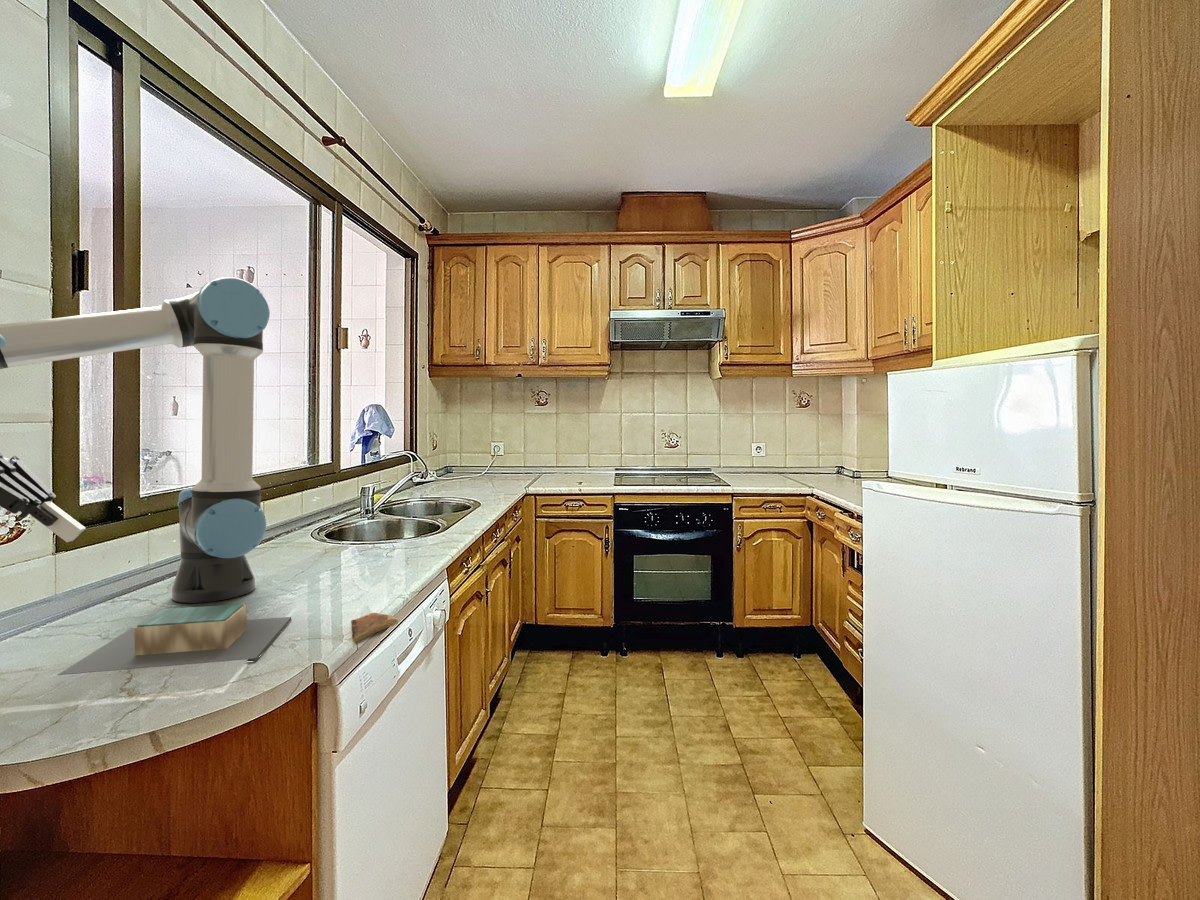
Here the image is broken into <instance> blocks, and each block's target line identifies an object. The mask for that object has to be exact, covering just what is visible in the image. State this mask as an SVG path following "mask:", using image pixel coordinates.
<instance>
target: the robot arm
mask: <svg viewBox="0 0 1200 900" xmlns="http://www.w3.org/2000/svg"><path fill="white" fill-rule="evenodd" d="M270 312H271V310H270V306H269V303H268V300H267V299H266V297H265V295H264V293H262V291H260V289H259V288H257V287H256V286H255V284H252V283H251V282H249V281H247V280H244V279H241V278H238V277H230V276H229V277H228V276H227V277H226V276H225V277H220V278H214V279H211V280H210V281H208V282H206V283H205V284H204V285H202V287H200V289H199V290H198V291H197V292H194V293H193V294H189V295H186V296H184V297H179V298H173V299H164V300H163V301H162V303H160V305H158V306H150V307H141V308H133V309H126V310H116V311H108V312H100V313H99V312H98V313H89V314H81V315H72V316H64V317H54V318H45V319H38V320H36V319H35V320H29V321H20V322H19V321H18V322H11V323H4V324H3V323H2V324H0V370H3V369H7V368H15V367H22V366H28V365H35V364H42V363H49V362H50V363H51V362H57V361H63V360H68V359H69V360H70V359H76V358H85V357H92V356H98V355H105V354H110V353H112V354H113V353H117V352H125V351H132V350H138V349H144V348H151V347H157V346H159V347H160V346H164V345H174V346H176V347H177V348H179V349H180V348H185V347H186V348H187V347H194V348H195V349H196V351H198V353H200V355H201V356H202V410H201V411H202V415H201V417H202V419H201V420H202V422H201V423H202V424H201V425H202V426H201V429H202V430H201V479H200V480H199V482H197V483H196V484H195V485H194V486H193V487H191V488H186V489H183V490H181V491H180V492H179V494H178V500H177V501H178V502H177V507H178V517H179V521H178V522H179V544H180V545H179V548H180V551H179V552H180V562H179V565H178V569H177V571H176V575H175V578H174V581H173V582H172V588H171V598H172V600H173V601H174V602H177V603H183V604H185V603H186V604H197V603H199V604H200V603H208V602H209V603H210V602H211V603H212V602H218V601H224V600H228V599H233V598H237V597H238V598H239V597H240V596H243V595H246V594H249V593H251V592H253V591H254V590H255V589H256V578H255V575H254V573H253V571H252V568H251V567H250V564H249V561H248V559H247V556H246V555H247V554H249V553H250V552H252V551H253V550H255V549H256V548H257V547H258V546H259V544H261V542H262V540H263V539H264V537H265V534H266V531H267V520H266V515H265V514H264V511H263V510H262V508H261V505H262V504H261V503H262V497H261V495H262V494H261V492H262V491H261V489H262V486H261V485H260V484H258V483H257V482H256V481H255V480H254V479H253V461H254V460H253V457H254V455H253V453H254V452H253V451H254V450H253V449H254V399H255V398H254V394H255V393H254V391H255V390H254V389H255V388H254V387H255V385H254V384H255V361H256V359H257V358H258V357H259V356H260V355H262V354H263V353H264V330H266V328H267V325H268V324H269V320H270V314H271V313H270ZM56 497H57V495H56V494H55V492H53V491H52V490H51V489H50V488H49V487H48V486H47V485H46V484H45V483H44V482H43V481H42V480H41V479H40V478H39V477H38V476H37V475H36V474H34V473H33V472H32V471H31V470H30V469H29V468H28V466H26V465H25V463H24V461H23V460H22V458H21V457H20V456H17V455H12V457H11V458H8V457H4V456H3V455H2V454H1V453H0V507H1V508H2V509H4V510H6V511H8V512H10V513H12V514H14V515H16V514H18V513H19V512H20V514H19V515H18V517H19V518H21V519H25V518H27V517H28V516H29V515H30V516H31V517H32V518H33V519H35V520H36V521H38V522H39V523H40V524H41V525H43V526H44V527H45V528H47V529H48V530H50V531H51V532H52V533H54V535H57V536H58V537H59V538H60V539H62V540H63V541H64V542H66V543H70V542H73V541H75V540H76V538H78V537H79V536H80V535H81V533H83V532H84V531H85V530H86V529H87V528H86V526H84V524H81V523H80V522H79V521H78V520H76V519H75V518H73V517H72V516H71V515H69V514H68V513H67V512H65V511H64V510H63V509H61V507H59V506H58V505H56V504H55V503H54V502H52V501H53V500H54V499H55V498H56Z"/></svg>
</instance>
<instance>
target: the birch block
mask: <svg viewBox="0 0 1200 900" xmlns="http://www.w3.org/2000/svg"><path fill="white" fill-rule="evenodd" d="M247 620H248V619H247V604H244V603H239V604H238V603H237V604H236V603H235V604H221V605H208V606H207V605H205V606H192V607H177V608H175V607H174V608H163V609H161V610H159V611H157V612H156V613H154V614H153V615H151V616H150V617H148V618H146V619H145V620H143V621H142V622H141V623H139V624H137V625H136V626H135V627H133V628H134V643H135V656H136V655H149V654H161V653H174V652H187V651H199V650H212V649H225V648H228V647H229V646H230V645H231V644H232V643H233V642H234V641H235V640H237V639H238V638H239V637H240V636H241V635H242V634H243V633H244V632H245V631H246V630H247Z"/></svg>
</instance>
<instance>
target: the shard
mask: <svg viewBox="0 0 1200 900" xmlns="http://www.w3.org/2000/svg"><path fill="white" fill-rule="evenodd" d="M398 623H399V620H398V618H396V617H394V616H392V615H389V614H384V613H381V612H380V613H379V612H371V613H368V614H366V615H364V616H360V617H358V618H355V619H352V620H351V621H350V624H351V625H350V626H351V629H350V630H351V639H352V641H353V642H354V643H357V642H359V641H361V640H363V639H365V638H367V637H368V636H371V635H374V634H376V633H377V632H380V631H383V630H385V629H388V628H390V627H393V626H395V625H398Z"/></svg>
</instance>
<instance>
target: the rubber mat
mask: <svg viewBox="0 0 1200 900" xmlns="http://www.w3.org/2000/svg"><path fill="white" fill-rule="evenodd" d="M291 621H292V616H289V617H288V616H286V617H285V616H283V617H271V618H259V619H258V618H256V619H255V618H254V619H247V630H246V631H245V632H244V633H243V634H242V635H241V636H240V637H239V638H238V639H237V640H235V641H234V642H233V643H232V644H231V645H230V646H229V647H228V648H225V649H212V650H199V651H187V652H174V653H161V654H149V655H136V656H135V643H134V628H135V627H131V628H129V629H127V630H126V631H124V632H123V633H121V634H120V635H118V636H117V637H115V638H114V639H112V640H110V641H108V642H107V643H105V644H104V645H102V646H101V647H99V648H97V649H95V651H93V652H91V653H90V654H88V655H87V656H85V657H84V658H82V659H80V660H79V661H77V662H75V663H73V664H72V665H71V666H69V667H67V668H66V669H65V670H64V669H63V671H61V672H60V673H58V674H57V676H61V675H72V674H73V675H74V674H83V673H84V674H85V673H95V672H108V671H122V670H132V669H146V668H155V667H157V668H158V667H169V666H180V665H192V664H193V665H194V664H203V663H204V664H205V663H215V662H216V663H217V662H218V663H219V662H229V661H239V660H241V661H243V660H246V661H256V660H257V659H258V658H259V656H260V655H261V654H262V653H263V652H264V651H265V652H266V651H267V649H268V648H269V647H270V646H271V645H272V643H273V642H274V641H276V639H277V638H276V637H279V635H280V634H281V633H282V632H283V631H284V630H285V628H286V627H287V626H288V625H289V623H290V622H291ZM281 631H282V632H281ZM270 644H271V645H270ZM269 645H270V646H269ZM268 646H269V647H268ZM266 648H267V649H266ZM265 652H264V653H265ZM264 653H263V654H264ZM263 654H262V655H263ZM262 655H261V656H262ZM261 656H260V657H261ZM259 659H260V658H259ZM259 659H258V660H259ZM258 660H257V661H258ZM257 661H256V662H257Z"/></svg>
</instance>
